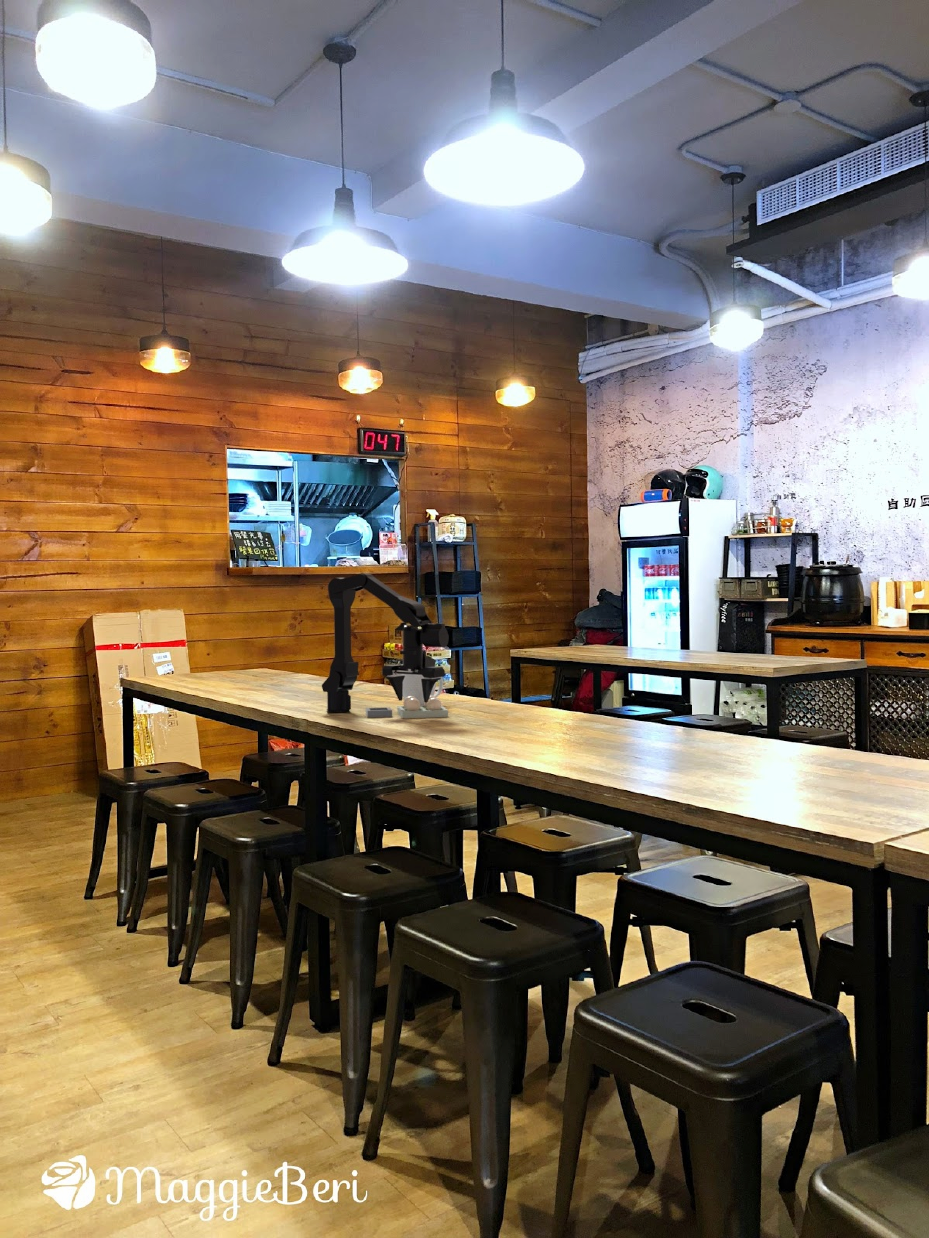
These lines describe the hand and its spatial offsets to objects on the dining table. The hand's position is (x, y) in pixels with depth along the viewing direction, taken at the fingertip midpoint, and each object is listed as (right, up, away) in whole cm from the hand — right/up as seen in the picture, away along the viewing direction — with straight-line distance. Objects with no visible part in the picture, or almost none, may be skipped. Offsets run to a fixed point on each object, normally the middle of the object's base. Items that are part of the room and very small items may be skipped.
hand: (413, 701), depth 271 cm
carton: (+2, -4, +4) cm, 6 cm away
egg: (0, -1, 0) cm, 1 cm away
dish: (-10, -4, +2) cm, 11 cm away
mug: (+1, -4, +24) cm, 24 cm away
